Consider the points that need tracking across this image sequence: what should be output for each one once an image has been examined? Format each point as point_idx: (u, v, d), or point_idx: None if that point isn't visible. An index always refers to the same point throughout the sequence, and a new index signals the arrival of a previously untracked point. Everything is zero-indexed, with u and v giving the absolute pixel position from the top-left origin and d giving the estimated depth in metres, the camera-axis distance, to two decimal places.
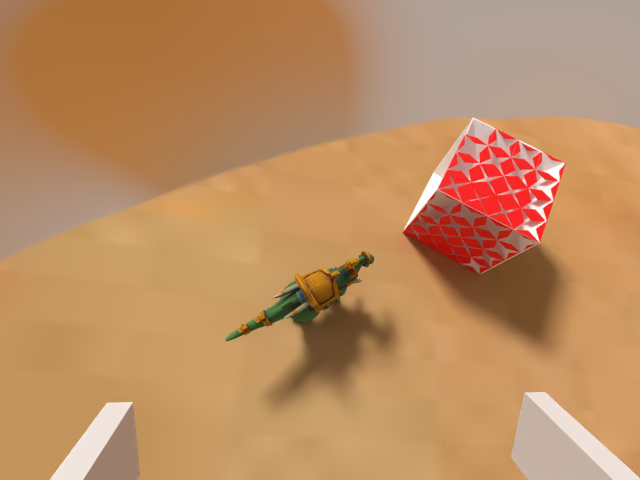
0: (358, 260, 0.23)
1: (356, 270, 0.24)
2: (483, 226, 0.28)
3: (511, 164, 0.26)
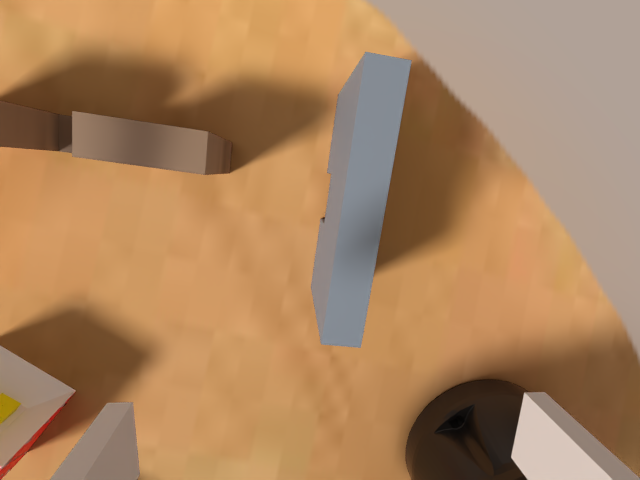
0: None
1: None
2: None
3: None
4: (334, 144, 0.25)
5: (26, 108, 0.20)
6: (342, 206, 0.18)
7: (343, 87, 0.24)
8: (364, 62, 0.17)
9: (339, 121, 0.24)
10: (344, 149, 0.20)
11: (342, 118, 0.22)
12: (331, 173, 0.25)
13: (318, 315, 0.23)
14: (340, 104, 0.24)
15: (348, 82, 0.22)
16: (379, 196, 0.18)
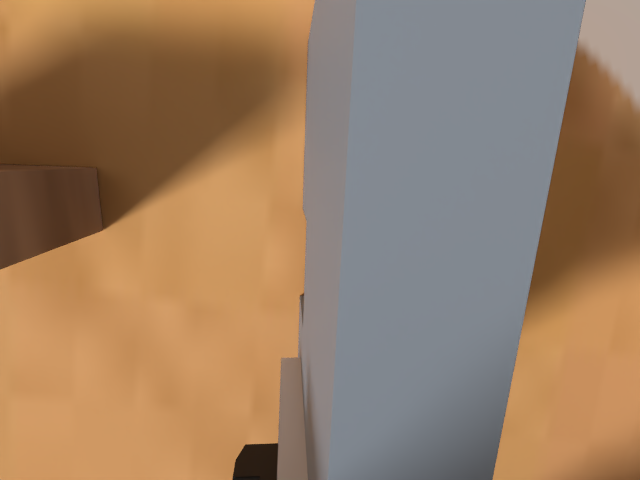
0: None
1: None
2: None
3: None
4: (307, 153, 0.11)
5: None
6: (331, 436, 0.05)
7: (313, 12, 0.10)
8: None
9: (311, 98, 0.10)
10: (323, 186, 0.06)
11: (315, 88, 0.08)
12: None
13: None
14: (311, 57, 0.10)
15: None
16: (479, 384, 0.04)
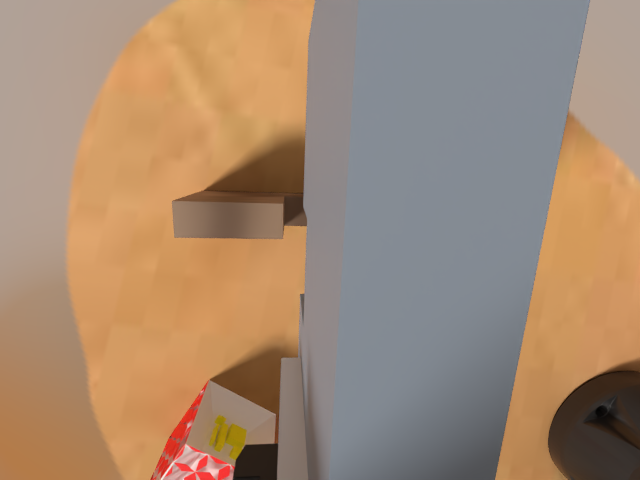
0: None
1: None
2: None
3: None
4: (308, 150, 0.11)
5: (283, 201, 0.24)
6: (333, 433, 0.04)
7: (314, 8, 0.10)
8: None
9: (312, 95, 0.10)
10: (324, 182, 0.06)
11: (316, 84, 0.08)
12: (307, 219, 0.11)
13: None
14: (312, 54, 0.10)
15: None
16: (482, 380, 0.04)
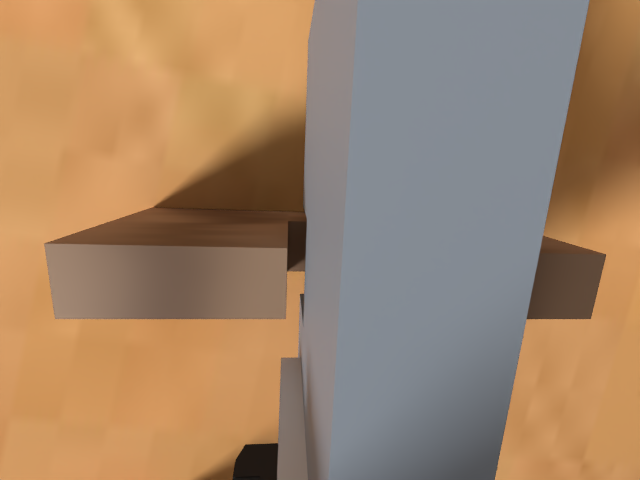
0: None
1: None
2: None
3: None
4: (308, 150, 0.11)
5: None
6: (332, 432, 0.04)
7: (314, 8, 0.10)
8: None
9: (312, 94, 0.10)
10: (324, 181, 0.06)
11: (316, 83, 0.08)
12: (307, 219, 0.11)
13: None
14: (311, 54, 0.10)
15: None
16: (482, 380, 0.04)
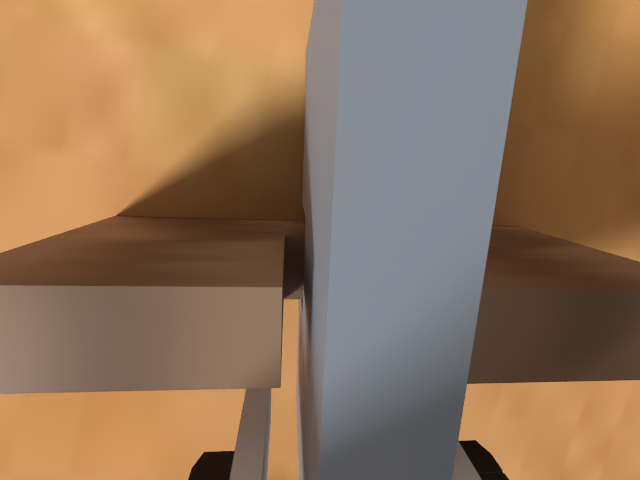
0: None
1: None
2: None
3: None
4: (306, 152, 0.12)
5: None
6: (325, 386, 0.05)
7: (311, 24, 0.11)
8: None
9: (309, 102, 0.11)
10: (319, 180, 0.07)
11: (312, 93, 0.09)
12: (305, 215, 0.12)
13: None
14: (309, 64, 0.11)
15: None
16: (447, 342, 0.05)
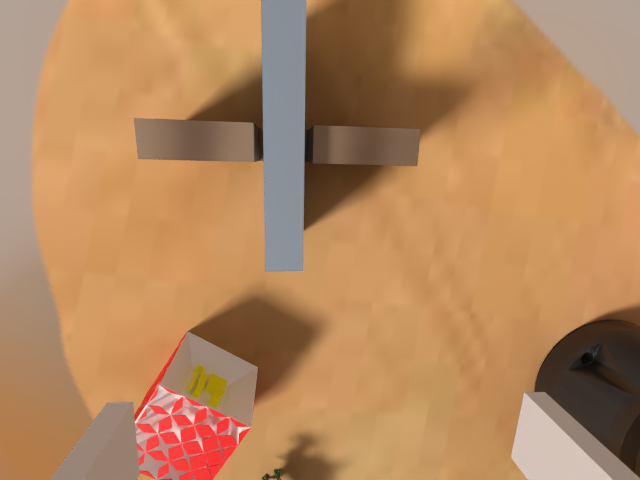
0: None
1: None
2: None
3: (166, 435, 0.26)
4: None
5: (256, 127, 0.23)
6: (263, 137, 0.20)
7: None
8: None
9: None
10: None
11: None
12: None
13: None
14: None
15: None
16: (297, 123, 0.20)
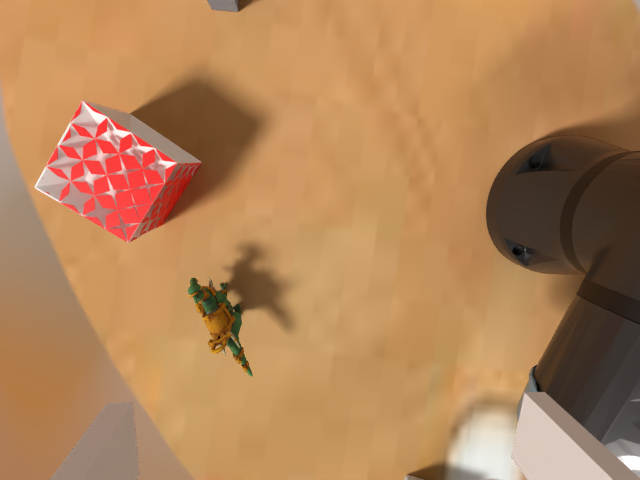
0: (197, 303, 0.31)
1: (204, 296, 0.32)
2: None
3: (91, 162, 0.26)
4: None
5: None
6: None
7: None
8: None
9: None
10: None
11: None
12: None
13: None
14: None
15: None
16: None
